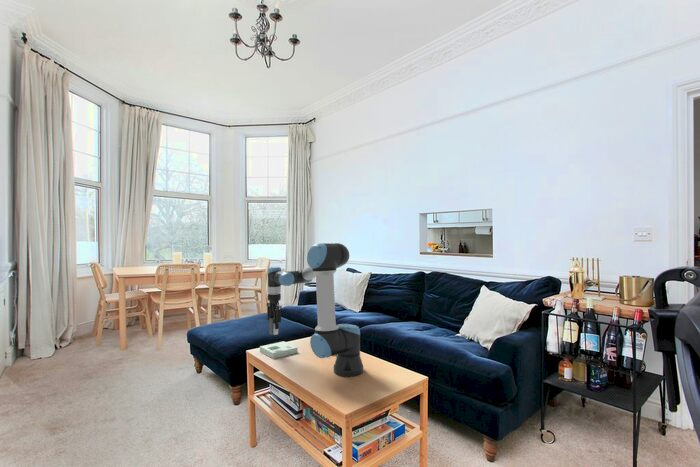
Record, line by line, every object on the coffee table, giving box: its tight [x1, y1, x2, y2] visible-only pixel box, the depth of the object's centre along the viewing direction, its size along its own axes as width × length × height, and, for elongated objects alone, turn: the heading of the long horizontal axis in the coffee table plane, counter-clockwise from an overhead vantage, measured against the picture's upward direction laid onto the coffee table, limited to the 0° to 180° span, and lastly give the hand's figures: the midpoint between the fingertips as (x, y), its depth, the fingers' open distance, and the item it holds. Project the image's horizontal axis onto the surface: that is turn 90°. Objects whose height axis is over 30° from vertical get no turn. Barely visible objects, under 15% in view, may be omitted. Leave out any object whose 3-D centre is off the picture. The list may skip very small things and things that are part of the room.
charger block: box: [268, 318, 280, 336], centre depth 206 cm, size 4×4×9 cm
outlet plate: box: [259, 341, 299, 359], centre depth 208 cm, size 16×16×3 cm
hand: (273, 333), depth 206 cm, fingers closed on charger block, 4 cm apart
